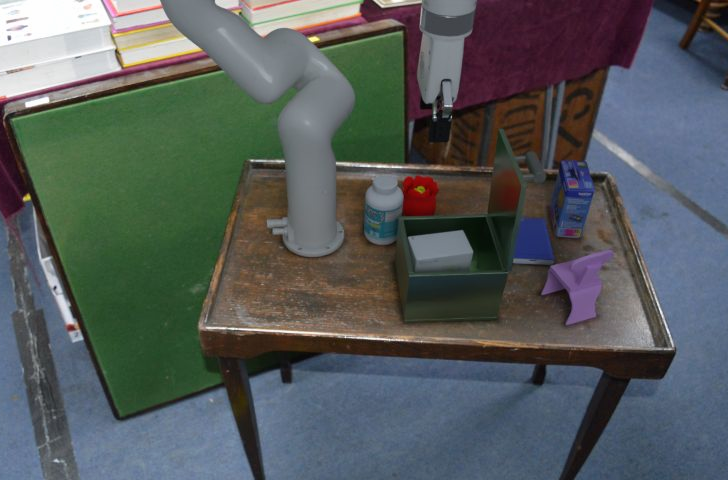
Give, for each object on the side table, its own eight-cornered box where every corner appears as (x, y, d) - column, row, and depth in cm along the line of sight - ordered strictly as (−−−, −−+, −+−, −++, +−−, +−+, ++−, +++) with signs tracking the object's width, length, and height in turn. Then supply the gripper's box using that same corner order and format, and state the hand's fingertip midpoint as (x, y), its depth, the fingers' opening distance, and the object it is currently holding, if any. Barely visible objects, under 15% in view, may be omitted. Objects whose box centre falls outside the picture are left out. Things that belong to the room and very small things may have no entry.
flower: (391, 218, 139) (393, 187, 133) (409, 199, 143) (412, 168, 138) (424, 231, 136) (428, 200, 130) (442, 212, 140) (446, 181, 134)
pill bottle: (357, 229, 136) (358, 176, 127) (388, 219, 139) (391, 165, 129) (375, 251, 131) (378, 197, 122) (407, 240, 134) (412, 185, 124)
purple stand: (573, 282, 125) (594, 221, 114) (601, 315, 119) (627, 253, 108) (534, 293, 123) (553, 231, 112) (561, 326, 117) (583, 265, 106)
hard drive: (505, 216, 136) (512, 257, 128) (545, 218, 136) (555, 259, 127) (503, 222, 137) (510, 263, 129) (544, 224, 137) (553, 265, 128)
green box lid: (521, 185, 97) (557, 183, 97) (498, 128, 108) (530, 126, 108) (506, 270, 110) (538, 268, 109) (487, 211, 121) (516, 209, 120)
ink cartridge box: (546, 207, 141) (562, 149, 131) (573, 208, 140) (591, 150, 130) (553, 237, 134) (570, 178, 124) (581, 239, 133) (601, 180, 123)
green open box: (404, 323, 118) (409, 276, 110) (394, 263, 129) (398, 216, 121) (496, 320, 118) (508, 272, 110) (479, 260, 129) (489, 213, 121)
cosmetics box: (411, 301, 120) (416, 259, 113) (402, 277, 125) (406, 235, 118) (466, 294, 122) (474, 251, 114) (455, 270, 126) (462, 228, 119)
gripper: (413, -6, 100) (404, 97, 112) (428, 46, 87) (416, 155, 99) (462, -7, 100) (448, 96, 112) (485, 46, 87) (466, 155, 100)
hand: (433, 124), depth 106 cm, fingers open, 9 cm apart
